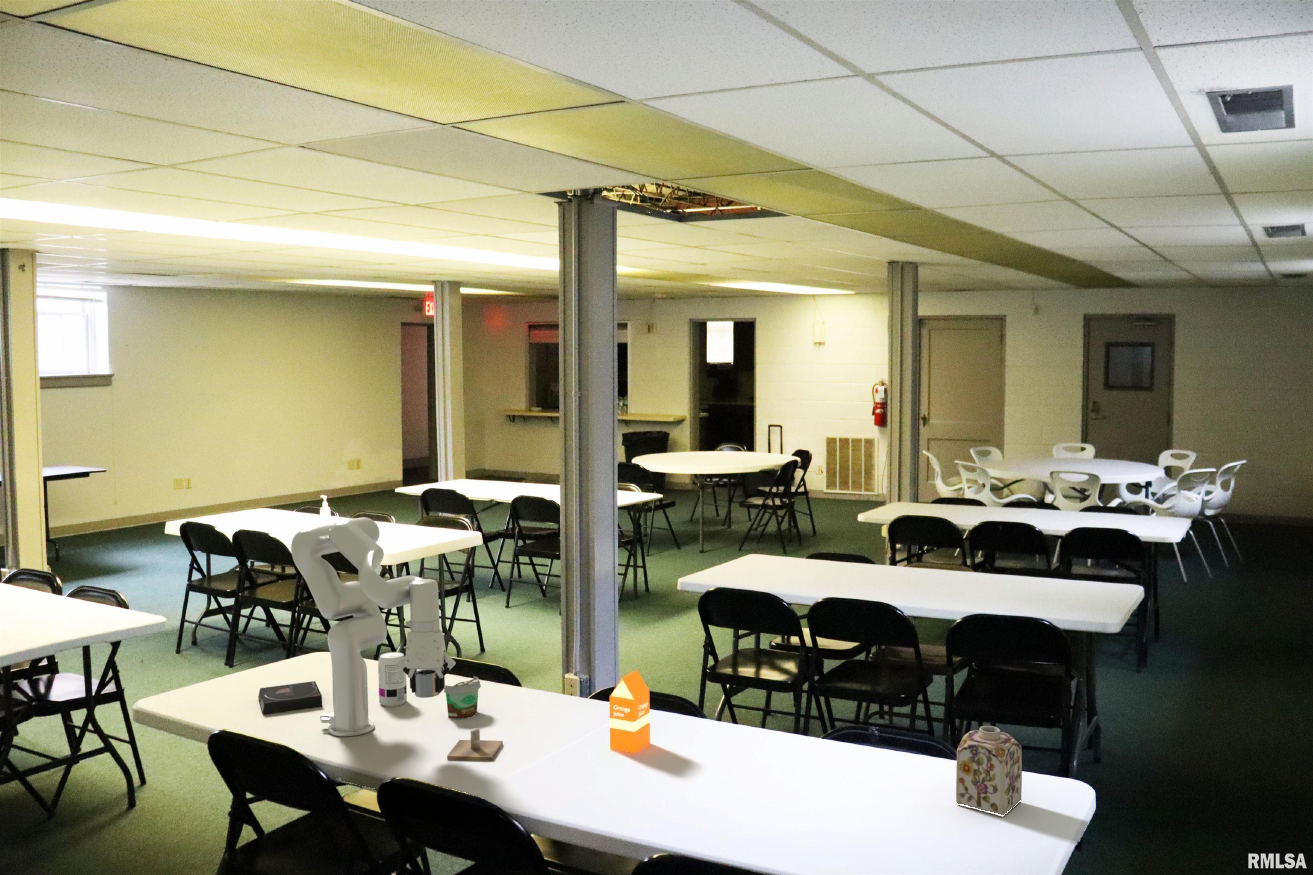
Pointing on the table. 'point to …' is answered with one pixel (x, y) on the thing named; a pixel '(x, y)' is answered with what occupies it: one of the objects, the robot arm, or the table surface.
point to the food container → (462, 699)
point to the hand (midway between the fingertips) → (427, 690)
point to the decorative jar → (989, 770)
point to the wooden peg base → (475, 748)
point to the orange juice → (630, 714)
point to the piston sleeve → (426, 683)
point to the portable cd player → (290, 697)
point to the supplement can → (391, 680)
